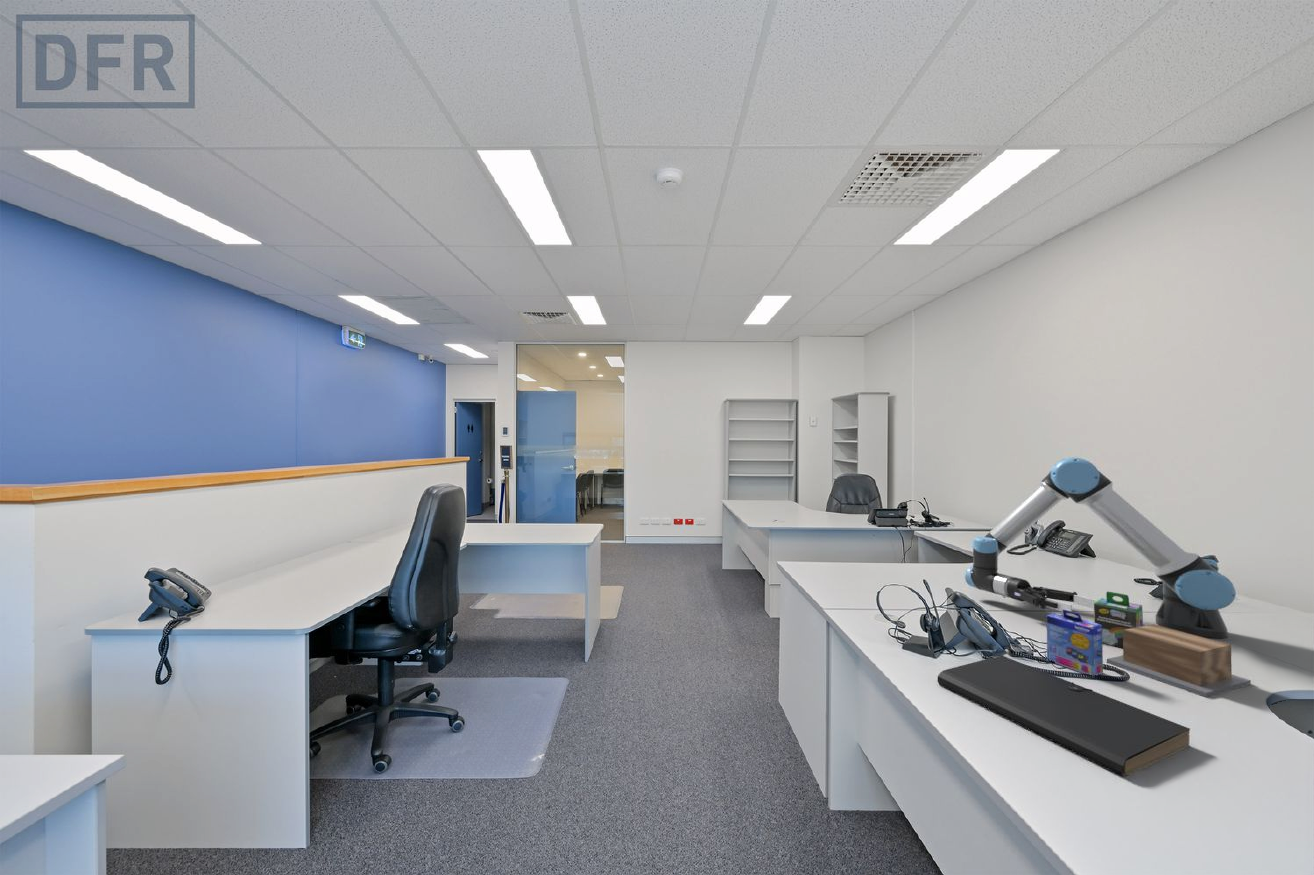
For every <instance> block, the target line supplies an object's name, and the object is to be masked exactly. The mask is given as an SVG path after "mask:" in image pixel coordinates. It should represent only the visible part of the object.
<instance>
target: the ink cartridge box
mask: <svg viewBox="0 0 1314 875" xmlns="http://www.w3.org/2000/svg"><path fill="white" fill-rule="evenodd" d="M1062 610H1063V609H1062ZM1069 613H1071V614H1069ZM1103 655H1104V654H1103V643H1102V625H1101V624H1098V623H1094V621H1090V620H1086V619H1083V618H1082V616H1081V614H1080V612H1076V611H1072V612H1071V611H1067V610H1063V612H1062V613H1061V612H1060V613H1059V612H1053V613H1050V614H1046V660H1047V659H1049V660H1053V661H1054V662H1055V663H1054V664H1056V665H1058V666H1062V667H1065V668H1066V669H1069V670H1073V671H1075V672H1079V673H1081V672H1082V673H1081V674H1084V673H1086V674H1090V675H1096V676H1098V675H1097V674H1099V675H1101V674H1103V673H1104V664H1103V663H1104V662H1103V659H1104V658H1103ZM1086 674H1085V675H1086Z"/></svg>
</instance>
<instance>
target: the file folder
mask: <svg viewBox="0 0 1314 875" xmlns="http://www.w3.org/2000/svg"><path fill="white" fill-rule="evenodd" d="M937 683H938V684H939V685H940V686H941V687H944V688H946V689H947V690H950V691H951V692H954V693H956V694H958V695H959V696H962V697H964V698H966V699H968V700H970V701H972V702H974V703H976V704H978V705H979V706H982V707H983V708H986V709H987V710H990V711H992V712H994V713H996V714H997V715H1000V716H1002V717H1004V718H1006V719H1008V720H1010V721H1011V722H1013V723H1016V724H1018V725H1020V726H1022V727H1023V728H1025V729H1028V730H1029V731H1032V732H1034V733H1036V734H1038V735H1039V736H1042V737H1044V738H1045V739H1047V740H1049V741H1051V742H1053V743H1056V744H1057V745H1060V746H1061V747H1064V748H1065V749H1068V750H1070V751H1072V752H1073V753H1075V754H1078V755H1079V756H1082V757H1083V758H1086V759H1087V760H1089V761H1092V763H1093V762H1094V763H1095V764H1097V765H1099V766H1102V767H1103V768H1105V769H1107V770H1109V771H1111V772H1112V773H1113V772H1114V773H1115V774H1117V775H1119V776H1122V777H1124V778H1125V776H1128V775H1131V774H1133V773H1135V772H1138V771H1140V770H1142V769H1144V768H1146V767H1149V766H1150V765H1152V764H1155V763H1157V762H1159V761H1161V760H1163V759H1165V758H1167V757H1170V756H1171V755H1174V754H1175V753H1178V752H1180V751H1182V750H1184V749H1186V748H1188V747H1190V746H1191V745H1190V743H1191V742H1190V737H1191V736H1190V735H1191V734H1190V732H1191V728H1189V727H1187V726H1184V725H1181V724H1179V723H1176V722H1174V721H1172V720H1169V719H1167V718H1164V717H1161V716H1158V715H1155V714H1154V713H1151V712H1148V711H1146V710H1143V709H1140V708H1137V707H1136V706H1133V705H1130V704H1127V703H1125V702H1122V701H1120V700H1118V699H1115V698H1112V697H1110V696H1107V695H1105V694H1102V693H1100V692H1098V691H1094V690H1093V689H1091V688H1087V687H1084V686H1082V685H1079V684H1077V683H1075V682H1071V681H1069V680H1066V679H1064V678H1060V677H1059V676H1056V675H1052V674H1051V673H1048V672H1045V671H1043V670H1041V669H1037V668H1035V667H1032V666H1031V665H1027V664H1025V663H1022V662H1020V661H1017V660H1015V659H1012V658H1010V657H1007V656H1005V655H1000V656H999V655H998V656H996V657H988V658H986V659H982V660H978V661H974V662H970V663H967V664H963V665H959V666H955V667H950V668H947V669H943V670H942V671H941V672H939V674H938V675H937Z"/></svg>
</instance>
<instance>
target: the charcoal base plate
mask: <svg viewBox="0 0 1314 875" xmlns="http://www.w3.org/2000/svg"><path fill="white" fill-rule="evenodd" d="M1106 663H1107V664H1110V665H1113V666H1116V667H1118V668H1122V669H1124V670H1127V671H1130V672H1133V673H1135V674H1138V675H1141V676H1144V677H1147V678H1150V679H1152V680H1156V681H1158V682H1162V683H1164V684H1166V685H1170V686H1173V687H1176V688H1178V689H1181V690H1184V691H1187V692H1190V693H1192V694H1195V695H1198V696H1201V697H1204V698H1209V697H1212V696H1214V695H1218V694H1222V693H1225V692H1229V691H1233V690H1235V689H1240V688H1242V687H1246V686H1250V685H1251V684H1252V683H1251V681H1252V680H1251V679H1248V678H1244V677H1242V676H1238V675H1235V674H1232V678H1230V679H1226V680H1223V681H1219V682H1216V683H1212V684H1208V685H1205V686H1201V687H1200V686H1197V685H1194V684H1191V683H1188V682H1185V681H1182V680H1179V679H1176V678H1173V677H1170V676H1167V675H1164V674H1161V673H1159V672H1156V671H1153V670H1150V669H1147V668H1144V667H1141V666H1138V665H1135V664H1132V663H1129V662H1126V661H1123V655H1118V656H1115V657H1109V658H1106Z"/></svg>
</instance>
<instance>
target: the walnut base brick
mask: <svg viewBox="0 0 1314 875" xmlns="http://www.w3.org/2000/svg"><path fill="white" fill-rule="evenodd" d="M1122 650H1123V651H1122V652H1123V653H1122V654H1123V655H1122V656H1123V661H1126V662H1129V663H1132V664H1135V665H1138V666H1141V667H1144V668H1147V669H1150V670H1153V671H1156V672H1159V673H1161V674H1164V675H1167V676H1170V677H1173V678H1176V679H1179V680H1182V681H1185V682H1188V683H1191V684H1194V685H1197V686H1200V687H1201V686H1205V685H1208V684H1212V683H1216V682H1219V681H1223V680H1226V679H1230V678H1232V675H1233V674H1232V673H1233V672H1232V671H1233V670H1232V668H1233V667H1232V665H1233V664H1232V644H1229V643H1226V642H1222V641H1217V640H1214V639H1210V638H1208V637H1203V636H1197V635H1192V634H1188V633H1185V632H1181V631H1177V630H1173V629H1170V628H1166V627H1163V626H1160V625H1158V624H1156V623H1155V624H1148V625H1143V626H1142V627H1136V628H1131V629H1125V630H1123V648H1122Z"/></svg>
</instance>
